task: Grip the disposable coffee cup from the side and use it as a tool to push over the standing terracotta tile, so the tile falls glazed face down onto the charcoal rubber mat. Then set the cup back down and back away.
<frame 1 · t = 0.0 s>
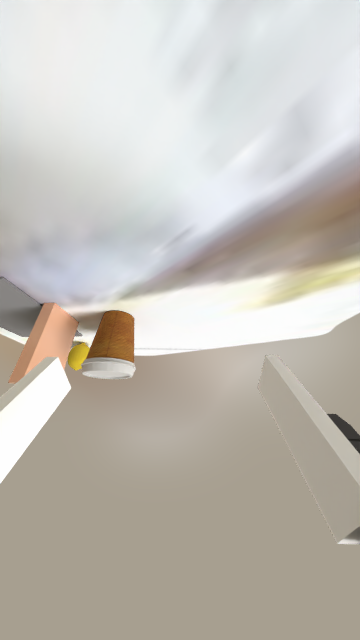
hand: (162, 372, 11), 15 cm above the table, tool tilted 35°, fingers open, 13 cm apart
lemon: (83, 342, 50), on the table
mat: (15, 314, 35), on the table
tile: (63, 313, 35), on the table
disposable coffee cup: (119, 316, 36), on the table
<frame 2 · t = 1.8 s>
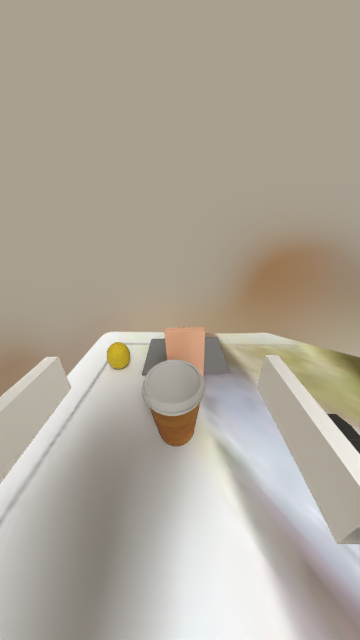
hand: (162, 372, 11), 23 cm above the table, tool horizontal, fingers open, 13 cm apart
lemon: (121, 368, 45), on the table
mat: (185, 354, 49), on the table
tile: (186, 380, 40), on the table
disposable coffee cup: (177, 427, 30), on the table
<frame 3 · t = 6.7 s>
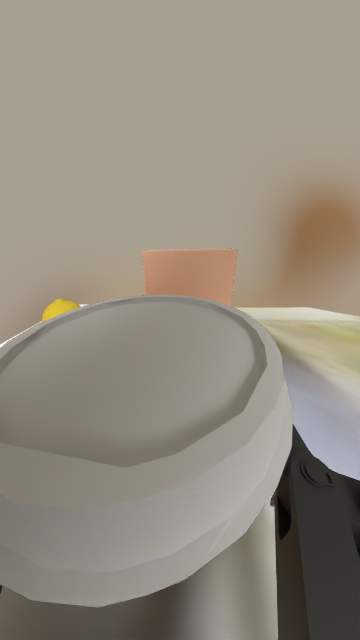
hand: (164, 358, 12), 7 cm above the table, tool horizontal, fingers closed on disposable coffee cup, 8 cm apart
lemon: (76, 349, 26), on the table
tile: (188, 370, 21), on the table
disposable coffee cup: (164, 489, 11), on the table, touching gripper
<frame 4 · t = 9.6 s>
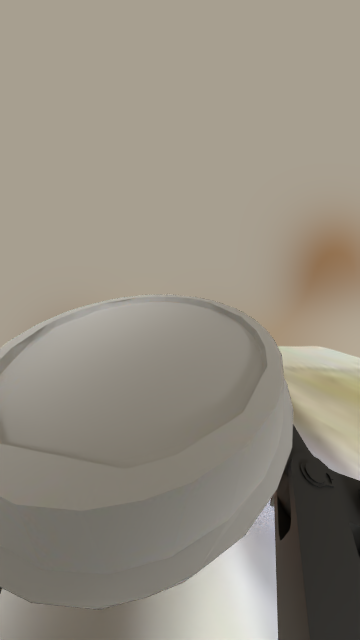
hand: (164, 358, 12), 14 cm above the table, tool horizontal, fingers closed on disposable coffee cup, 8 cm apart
disposable coffee cup: (164, 490, 11), point 7 cm above the table, touching gripper
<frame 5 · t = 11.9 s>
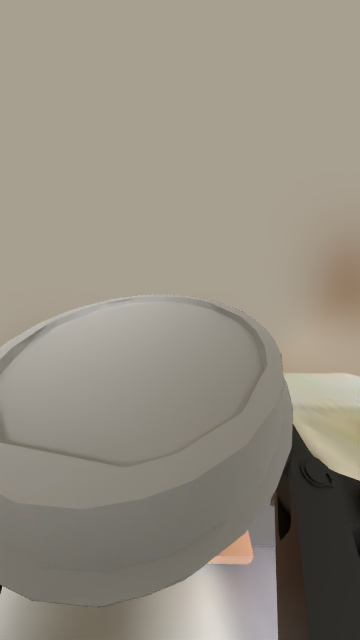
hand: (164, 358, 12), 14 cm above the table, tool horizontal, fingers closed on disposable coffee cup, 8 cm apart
mat: (188, 437, 20), on the table
tile: (193, 559, 12), point 2 cm above the table, tilted 90°, touching mat
disposable coffee cup: (164, 490, 11), point 7 cm above the table, touching gripper
when the fingers open (7 cm above the table, at t = 17.3 s): disposable coffee cup stays where it is, on the table.
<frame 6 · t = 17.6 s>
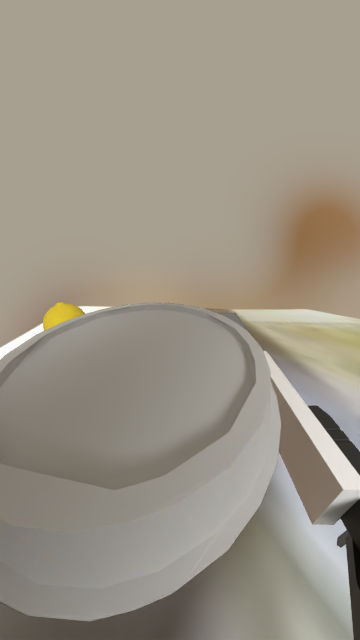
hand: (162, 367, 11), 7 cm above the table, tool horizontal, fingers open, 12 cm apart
lemon: (77, 352, 26), on the table
disposable coffee cup: (160, 493, 11), on the table
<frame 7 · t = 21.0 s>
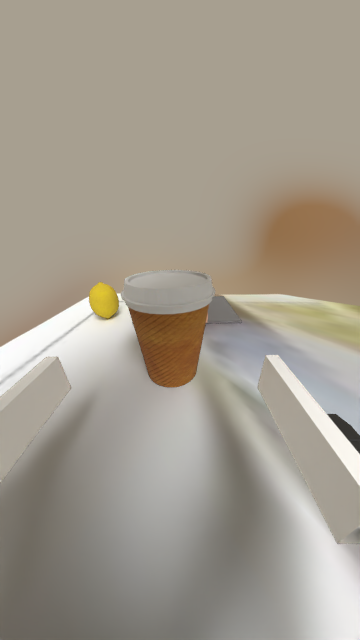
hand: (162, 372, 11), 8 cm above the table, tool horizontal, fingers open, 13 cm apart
lemon: (108, 319, 37), on the table
mat: (185, 308, 41), on the table
disposable coffee cup: (172, 370, 22), on the table
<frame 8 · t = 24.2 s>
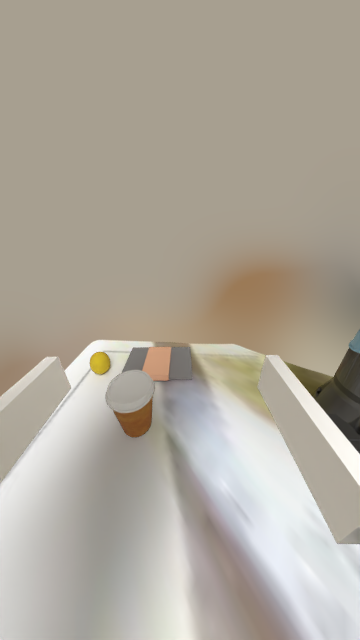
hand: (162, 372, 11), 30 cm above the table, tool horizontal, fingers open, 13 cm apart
lemon: (103, 373, 53), on the table
mat: (158, 362, 57), on the table
tile: (154, 378, 49), point 2 cm above the table, tilted 90°, touching mat
disposable coffee cup: (137, 423, 38), on the table
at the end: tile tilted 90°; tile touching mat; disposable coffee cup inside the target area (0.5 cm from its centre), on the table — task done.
